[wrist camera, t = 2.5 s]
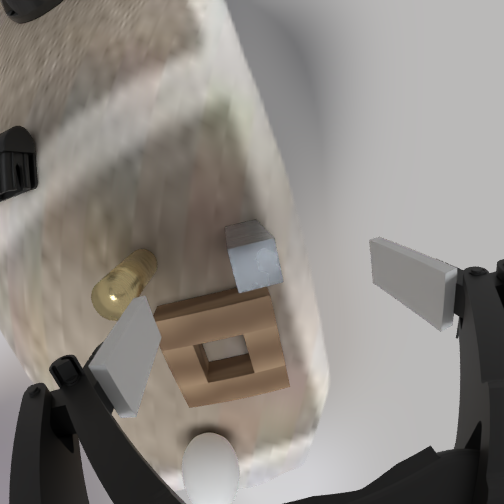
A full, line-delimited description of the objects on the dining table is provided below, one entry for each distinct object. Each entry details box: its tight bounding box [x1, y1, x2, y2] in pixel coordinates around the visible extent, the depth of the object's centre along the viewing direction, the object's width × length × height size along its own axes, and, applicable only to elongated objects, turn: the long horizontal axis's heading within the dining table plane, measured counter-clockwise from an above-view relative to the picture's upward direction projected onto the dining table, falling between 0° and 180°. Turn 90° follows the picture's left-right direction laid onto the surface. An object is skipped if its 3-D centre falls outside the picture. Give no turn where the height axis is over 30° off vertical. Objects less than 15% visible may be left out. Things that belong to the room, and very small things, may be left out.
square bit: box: [225, 219, 283, 293], centre depth 24 cm, size 3×3×10 cm
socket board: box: [153, 287, 290, 408], centre depth 29 cm, size 12×12×4 cm
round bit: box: [91, 249, 157, 321], centre depth 23 cm, size 3×3×10 cm
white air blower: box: [182, 433, 240, 504], centre depth 26 cm, size 8×8×18 cm
